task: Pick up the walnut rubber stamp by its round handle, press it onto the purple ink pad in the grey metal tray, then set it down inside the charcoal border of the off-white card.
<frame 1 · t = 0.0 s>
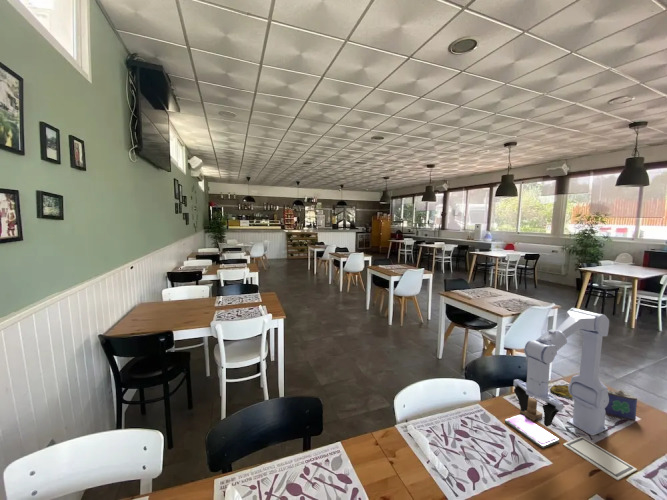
hand: (535, 417, 91), 10 cm above the table, tool pointing down, fingers open, 7 cm apart
marked card: (597, 456, 87), on the table
stamp: (530, 415, 107), on the table
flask: (618, 416, 107), on the table
ink pad: (530, 431, 98), on the table
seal: (567, 393, 123), on the table
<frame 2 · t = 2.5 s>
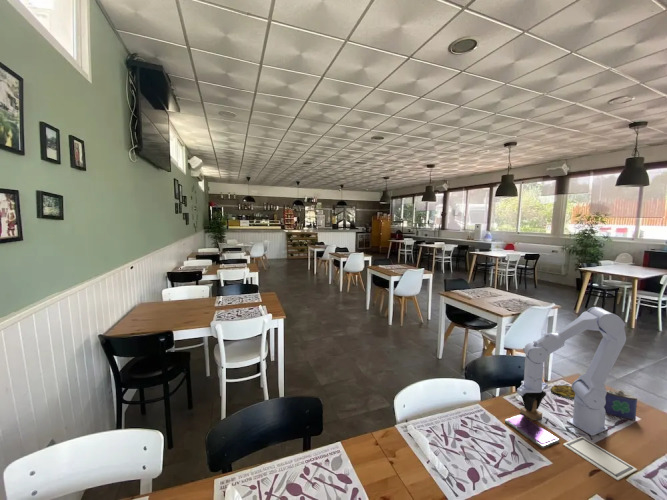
hand: (531, 408, 107), 3 cm above the table, tool pointing down, fingers closed on stamp, 3 cm apart
stamp: (530, 415, 107), on the table, touching gripper
everything else where it was.
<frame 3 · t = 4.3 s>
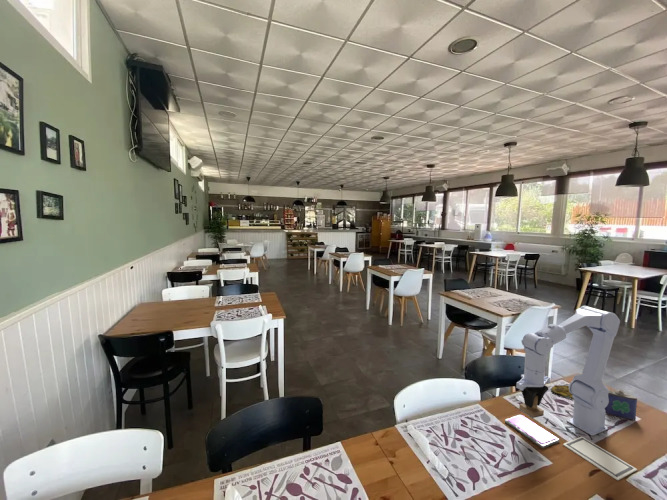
hand: (532, 404, 98), 10 cm above the table, tool pointing down, fingers closed on stamp, 3 cm apart
stamp: (531, 412, 98), point 7 cm above the table, touching gripper
everything else where it was.
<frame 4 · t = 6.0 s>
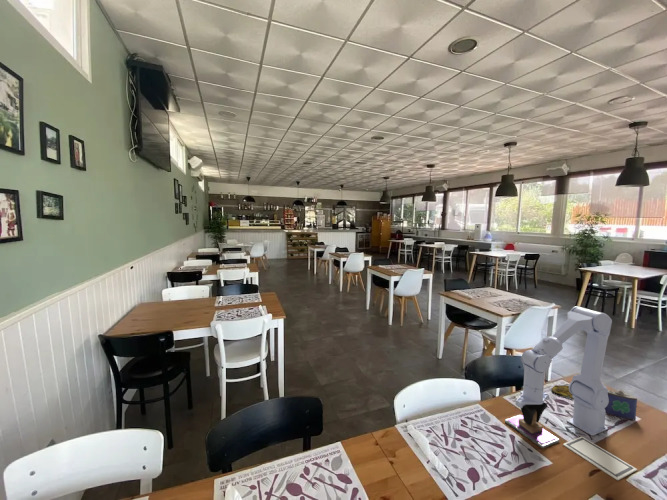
hand: (531, 421, 98), 4 cm above the table, tool pointing down, fingers closed on stamp, 3 cm apart
stamp: (530, 427, 99), point 1 cm above the table, touching gripper, ink pad
everything else where it was.
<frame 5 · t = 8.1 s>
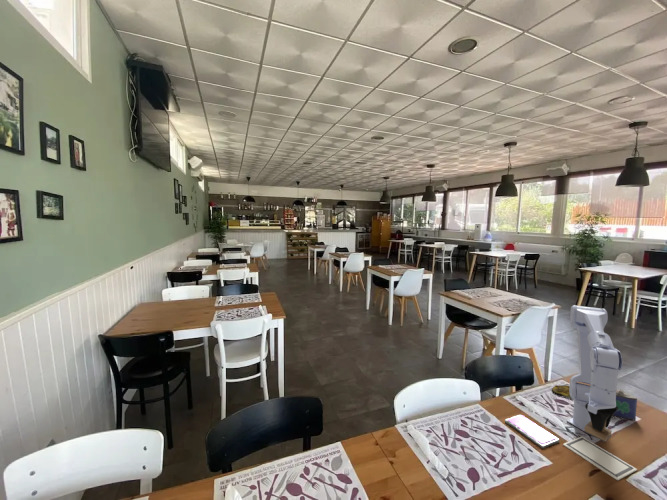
hand: (600, 427, 87), 10 cm above the table, tool pointing down, fingers closed on stamp, 3 cm apart
stamp: (597, 434, 87), point 7 cm above the table, touching gripper
everything else where it was.
when the fingers open (4 cm above the table, at t = 9.9 s): stamp stays where it is, resting on marked card.
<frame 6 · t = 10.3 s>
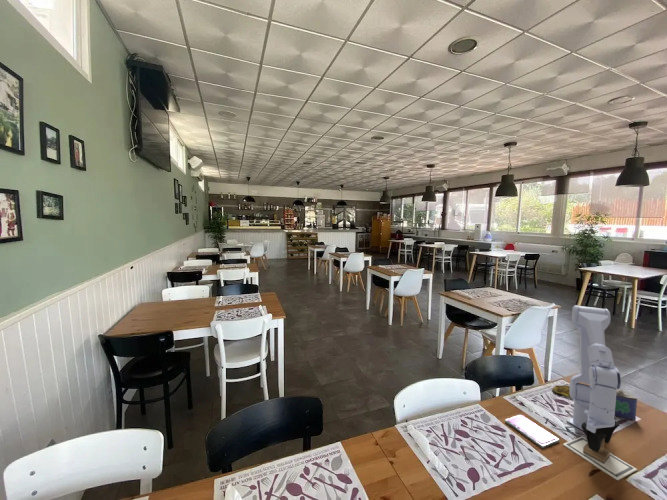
hand: (598, 445, 87), 4 cm above the table, tool pointing down, fingers open, 7 cm apart
stamp: (596, 454, 88), resting on marked card
everything else where it was.
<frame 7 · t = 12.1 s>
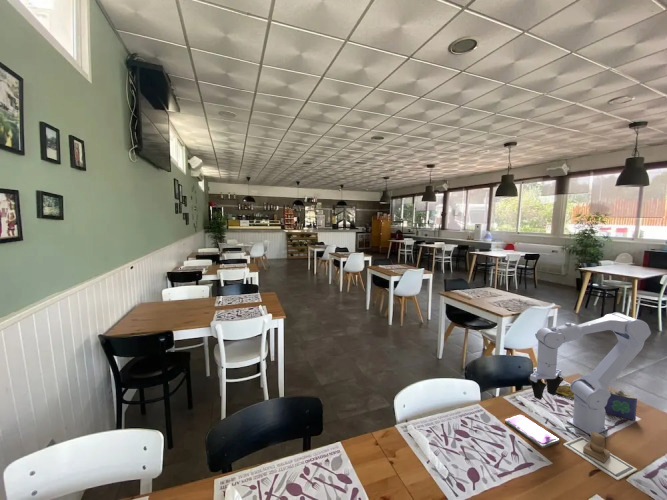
hand: (544, 396, 103), 10 cm above the table, tool pointing down, fingers open, 7 cm apart
nothing on the table moved.
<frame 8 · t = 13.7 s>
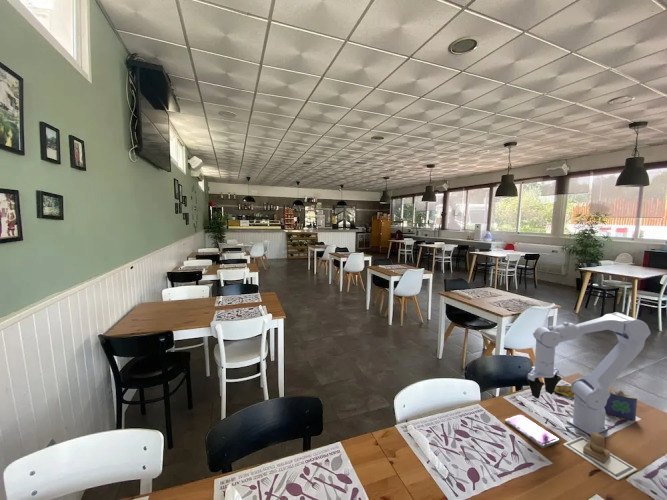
hand: (542, 394, 104), 10 cm above the table, tool pointing down, fingers open, 7 cm apart
at the end: stamp 0.4 cm off-centre on the marked card, point 0.4 cm above the marked card's base; stamp tilted 0°; the gripper is holding nothing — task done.
